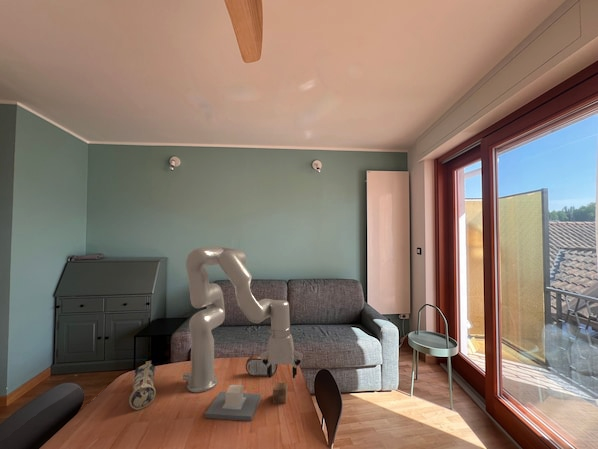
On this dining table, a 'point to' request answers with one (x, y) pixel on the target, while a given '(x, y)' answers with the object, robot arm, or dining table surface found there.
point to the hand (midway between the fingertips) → (282, 376)
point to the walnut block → (280, 392)
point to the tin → (258, 366)
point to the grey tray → (234, 413)
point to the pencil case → (143, 386)
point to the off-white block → (234, 396)
